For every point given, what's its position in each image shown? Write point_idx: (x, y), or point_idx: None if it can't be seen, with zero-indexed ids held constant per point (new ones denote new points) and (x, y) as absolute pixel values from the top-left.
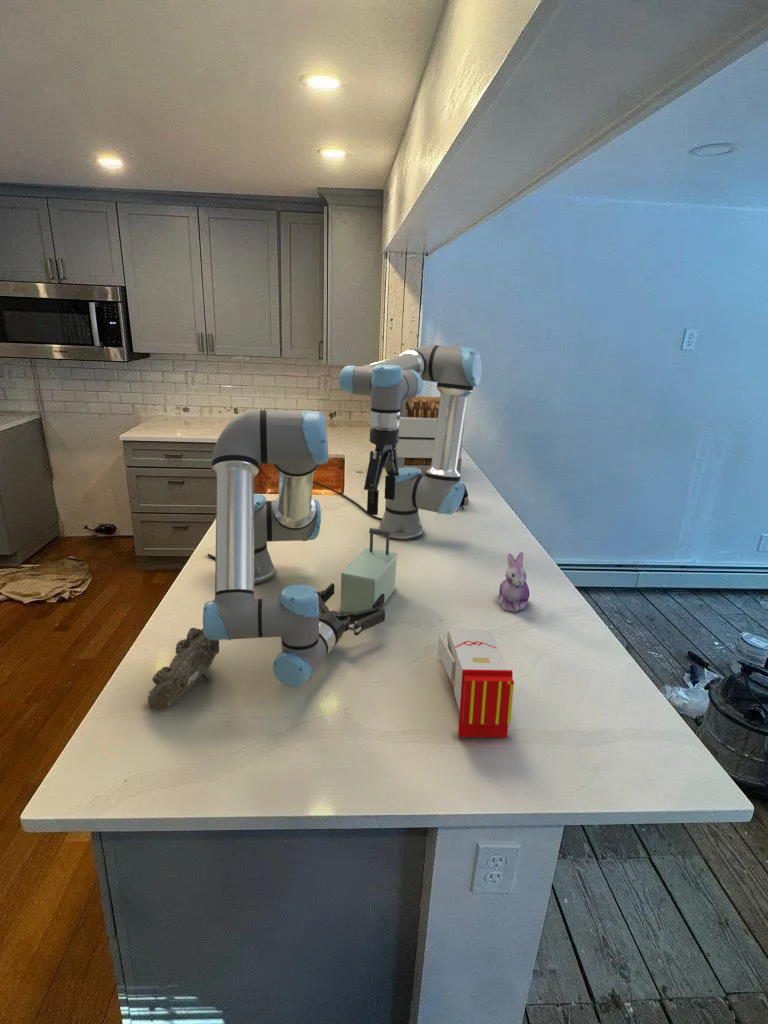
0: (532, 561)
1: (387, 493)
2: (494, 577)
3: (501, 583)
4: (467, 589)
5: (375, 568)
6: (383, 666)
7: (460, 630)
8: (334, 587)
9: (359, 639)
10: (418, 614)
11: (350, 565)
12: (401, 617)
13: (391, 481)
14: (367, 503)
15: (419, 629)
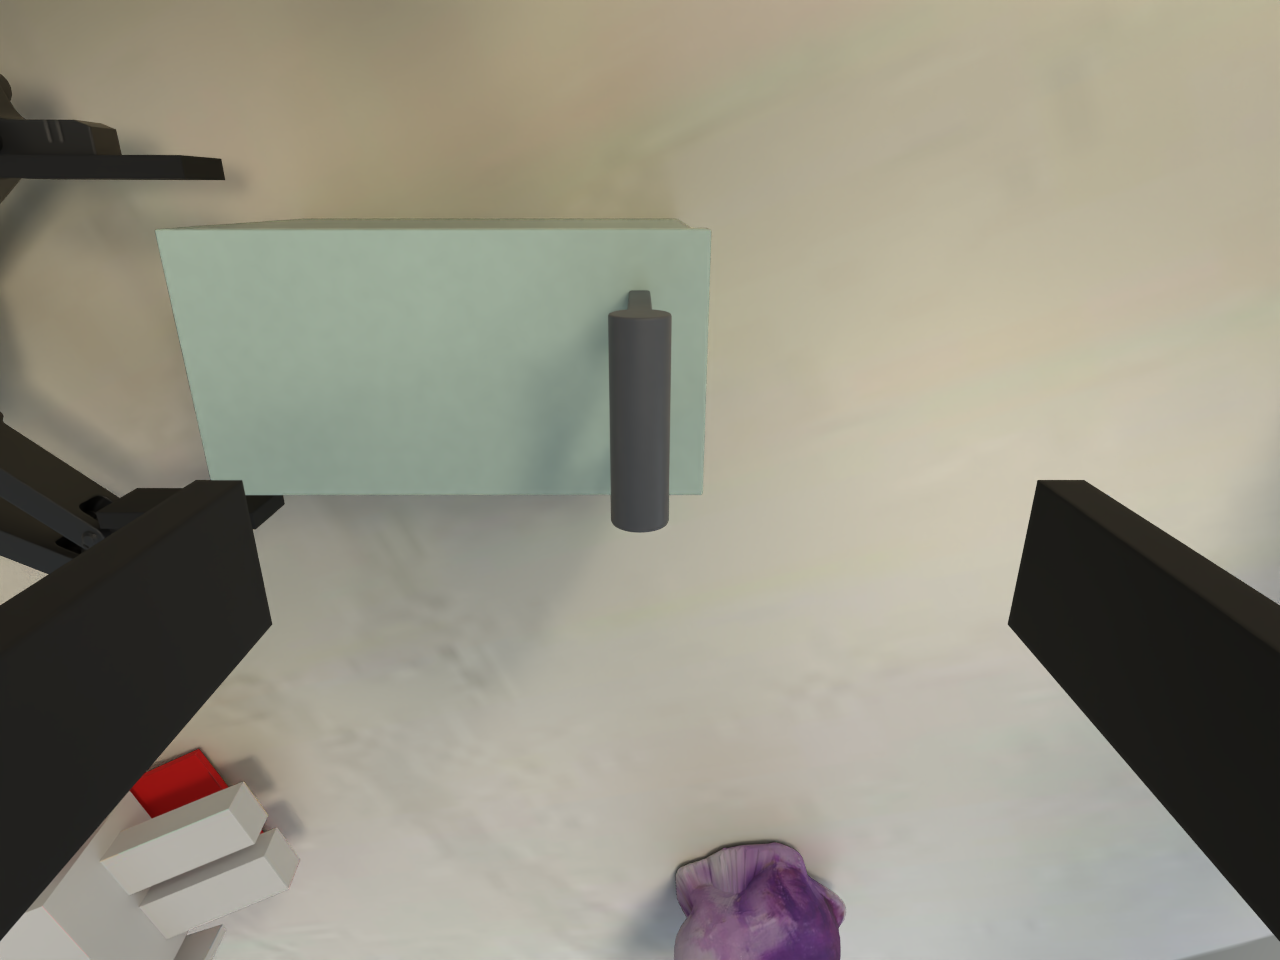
0: (1211, 908)
1: (1080, 573)
2: (983, 798)
3: (779, 911)
4: (814, 720)
5: (369, 440)
6: (23, 574)
7: (61, 945)
8: (202, 178)
9: (128, 417)
10: (480, 587)
11: (309, 246)
12: (414, 528)
13: (1254, 822)
14: (71, 565)
15: (359, 623)
